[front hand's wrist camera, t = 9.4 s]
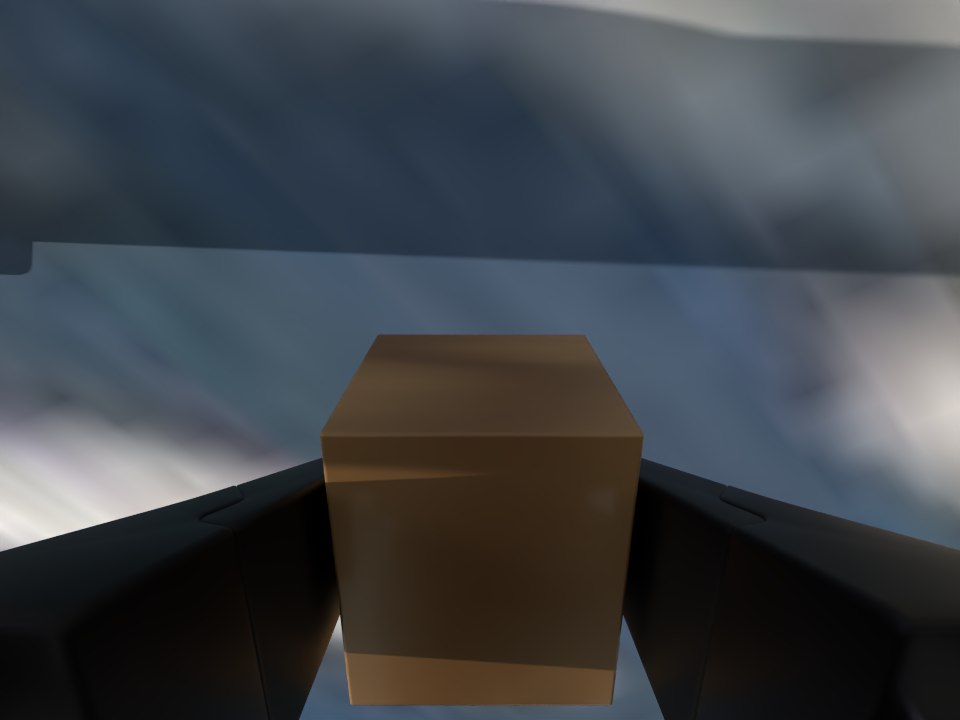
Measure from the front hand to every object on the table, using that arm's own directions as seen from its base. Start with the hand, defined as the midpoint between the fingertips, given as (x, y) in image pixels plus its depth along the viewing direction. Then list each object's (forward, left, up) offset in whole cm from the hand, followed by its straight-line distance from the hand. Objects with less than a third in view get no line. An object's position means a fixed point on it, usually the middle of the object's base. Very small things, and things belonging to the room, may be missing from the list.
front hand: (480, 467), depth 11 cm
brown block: (0, 0, -1) cm, 1 cm away
